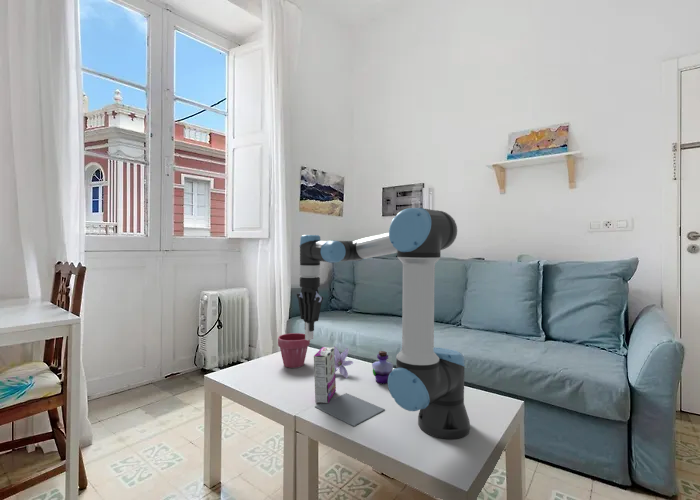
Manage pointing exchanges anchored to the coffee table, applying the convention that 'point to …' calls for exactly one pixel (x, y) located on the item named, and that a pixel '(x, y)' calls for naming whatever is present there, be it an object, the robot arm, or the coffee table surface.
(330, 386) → the candy bar box
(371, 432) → the coffee table surface
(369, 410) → the mat
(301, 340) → the plant pot
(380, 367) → the potion bottle
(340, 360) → the water lily
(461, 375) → the robot arm
